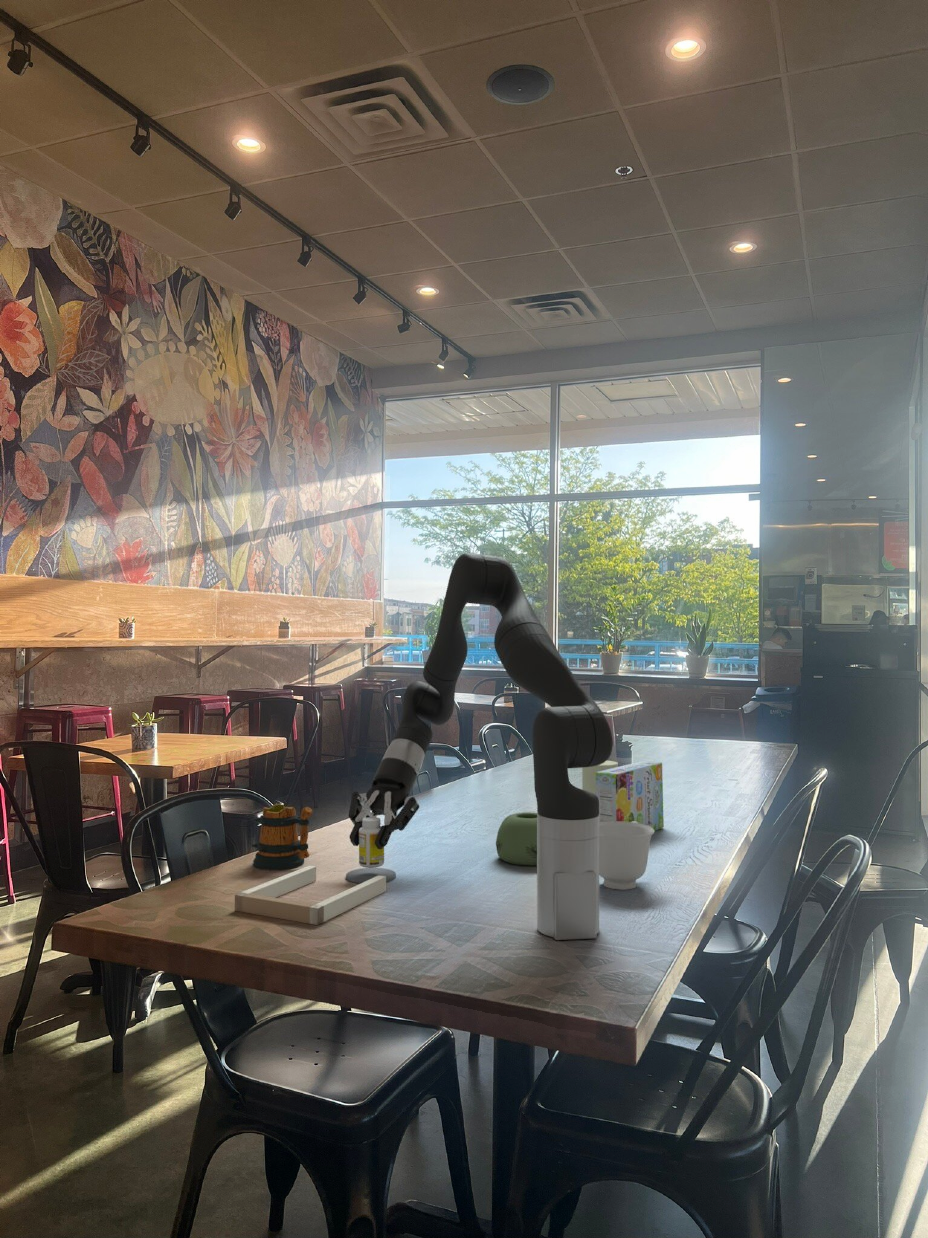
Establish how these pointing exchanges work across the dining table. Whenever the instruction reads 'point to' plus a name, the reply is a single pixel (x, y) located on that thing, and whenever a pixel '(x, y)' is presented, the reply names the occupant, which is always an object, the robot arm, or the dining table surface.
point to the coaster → (369, 874)
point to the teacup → (623, 853)
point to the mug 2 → (518, 839)
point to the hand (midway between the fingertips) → (366, 844)
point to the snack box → (631, 794)
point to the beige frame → (267, 904)
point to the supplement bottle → (370, 843)
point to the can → (594, 775)
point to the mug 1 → (282, 838)
